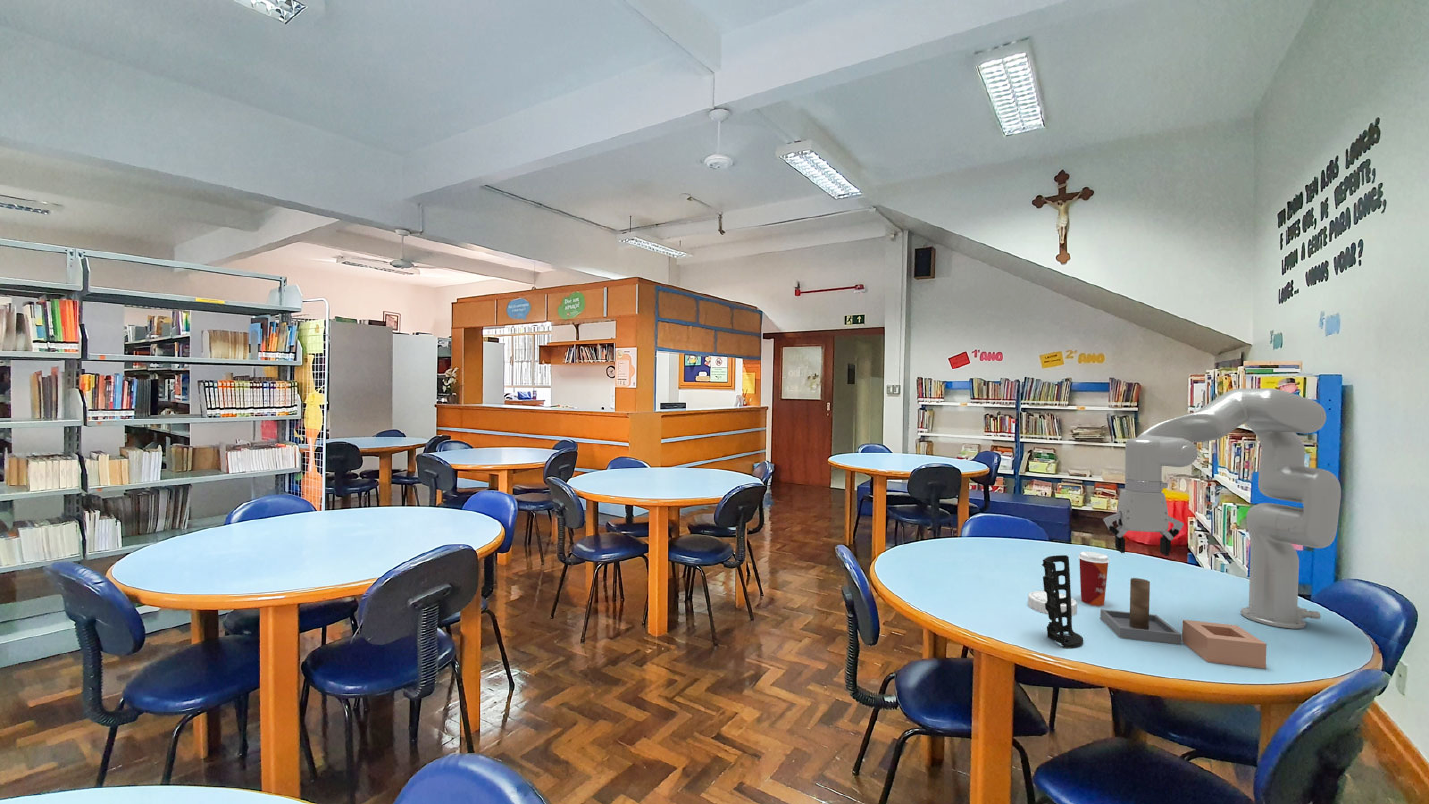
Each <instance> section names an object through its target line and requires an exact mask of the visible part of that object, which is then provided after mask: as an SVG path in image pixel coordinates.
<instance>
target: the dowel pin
mask: <svg viewBox="0 0 1429 804" xmlns="http://www.w3.org/2000/svg"><path fill="white" fill-rule="evenodd" d="M1129 581H1130V583H1129V585H1130V587H1129V588H1130V589H1129V591H1130V592H1129V612H1130V624H1129V625H1130V626H1131V627H1132V628H1136V629H1145V630H1149V614H1150V594H1151V593H1150V591H1151V590H1150V589H1151V587H1150V586H1151V582H1150V581H1149V580H1147V579H1144V578H1138V577H1137V578H1136V577H1132V578H1130V580H1129Z"/></svg>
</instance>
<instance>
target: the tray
mask: <svg viewBox="0 0 1429 804" xmlns="http://www.w3.org/2000/svg"><path fill="white" fill-rule="evenodd" d="M1099 618H1100V620H1101V621H1102V622H1104V624H1105V625H1106V626H1107V627H1108V628H1109V629H1110V630H1111V631H1112V632H1113V633H1114V634H1115V635H1117V637H1119V638H1120V639H1126V640H1136V641H1143V642H1154V643H1161V644H1162V643H1163V644H1170V645H1171V644H1173V645H1179V646H1180V645H1182V643H1183V642H1182V633H1180V632H1179V631H1178V630H1176V629H1175V628H1174V627H1173V626H1171V625H1170V624H1169V623H1168V622H1166V621H1165V620H1163V619H1162V618H1161V617H1160V616H1158V615H1157V614H1151V613H1149V630H1145V629H1136V628H1132V627H1131V626H1130V625H1129V624H1130V611H1123V610H1122V611H1121V610H1110V609H1109V610H1108V609H1100V614H1099Z"/></svg>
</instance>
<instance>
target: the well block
mask: <svg viewBox="0 0 1429 804" xmlns="http://www.w3.org/2000/svg"><path fill="white" fill-rule="evenodd" d="M1181 631H1182V633H1181V634H1182V643H1183V644H1184V645H1185V646H1186V647H1188V648H1189V649H1190V650H1191V651H1193V652H1194V653H1195V654H1196V655H1198V656H1199V657H1201V658H1202V660H1204V661H1205V662H1208V663H1213V664H1221V665H1224V664H1225V665H1232V666H1240V667H1248V668H1256V669H1257V668H1258V669H1264V670H1265V669H1267V668H1266V667H1267V643H1265V642H1264V641H1262V640H1260V639H1259V638H1258V637H1256V636H1254V635H1253V634H1251V633H1249V632H1248V631H1246V630H1245V629H1243V628H1242V627H1240V626H1239V625H1237V624H1229V623H1227V624H1226V623H1218V622H1217V623H1216V622H1209V621H1201V620H1200V621H1198V620H1190V619H1189V620H1188V619H1182V629H1181Z"/></svg>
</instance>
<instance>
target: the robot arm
mask: <svg viewBox="0 0 1429 804" xmlns="http://www.w3.org/2000/svg"><path fill="white" fill-rule="evenodd" d="M1326 421H1327V414H1326V410H1325V408H1324V407H1323V406H1322V405H1321V404H1320V403H1319V402H1317V401H1315V400H1313V399H1310V398H1307V397H1303V396H1301V395H1298V394H1295V393H1291V392H1289V391H1285V390H1282V389H1276V388H1268V387H1267V388H1234V389H1230V390H1228V391H1225V392H1224V393H1223V394H1221V395H1220V396H1218V397H1217V398H1215V399H1213V400H1212V401H1209V403H1207V404H1206V405H1204V406H1202V407H1201V408H1199V409H1197V410H1196V411H1195V412H1192V413H1188V414H1184V415H1181V416H1178V417H1174V418H1172V419H1168V420H1165V421H1162V422H1160V423H1157V424H1155V425H1153V426H1151V427H1149V428H1148V429H1146V430H1145V431H1143V432H1141V433H1140V434H1139V435H1138V436H1137V437H1134V438H1129V439H1127V440H1126V441H1125V445H1124V446H1125V448H1124V449H1125V450H1124V451H1125V455H1124V456H1125V459H1124V461H1125V462H1124V464H1125V465H1124V467H1125V468H1124V470H1125V471H1124V474H1125V475H1124V489H1121V491H1120V493H1119V498H1118V503H1117V510H1116V513H1113V514H1111V515H1109V516H1107V517H1104V518H1103V520H1102V521H1103V522H1104V524H1105V526H1106V527H1107V529H1108V530H1109V531H1110V532H1111V533H1112V534H1113V535H1114V538H1115V539H1114V545H1115V549H1116V551H1118V552H1119V553H1120V554H1125V553H1126V538H1125V537H1124V535H1125V534H1127V532H1129V531H1130V532H1143V533H1145V532H1146V533H1147V532H1148V533H1159V534H1160V535H1162V536H1161V537H1160V539H1159V552H1160V553H1161V554H1162V555H1164V556H1168V557H1169V556H1170V553H1171V552H1172V541H1173V540H1174V538H1175V537H1177V535H1179V534H1180V531H1181V530H1182V528H1183V527H1184V524H1185V523H1184V522H1182V521H1180V520H1178V519H1176V518H1174V517H1171V516H1170V515H1169V509H1168V508H1169V507H1168V504H1167V499H1166V495H1165V493H1164V492H1163V489H1168V487H1169V483H1167V482H1164V481H1163V479H1162V476H1163V475H1162V472H1163V471H1162V469H1163V467H1171V468H1185V467H1188V466H1191V465H1192V464H1193V463H1194V462H1195V461H1196V460H1197V458H1198V456H1199V455H1198V454H1199V453H1198V452H1199V451H1198V448H1197V446H1196V445H1195V443H1197V444H1198V443H1204V442H1205V443H1206V442H1211V441H1216V440H1219V439H1222V438H1224V437H1225V436H1227V435H1228V434H1230V433H1231V432H1233V431H1234V430H1236V429H1237V428H1238V427H1240V426H1241V425H1244V424H1246V426H1247V427H1248V428H1249V429H1251V431H1252V432H1253V433H1254V434H1255V436H1256V437H1257V439H1258V441H1259V443H1260V448H1261V449H1260V450H1261V451H1260V462H1259V467H1258V468H1259V469H1258V480H1257V481H1258V482H1257V483H1258V484H1257V485H1258V486H1257V487H1258V490H1259V492H1260V493H1261V494H1262V495H1264V497H1265V496H1266V497H1268V498H1271V499H1275V500H1280V501H1287V502H1292V503H1293V502H1294V503H1299V504H1300V503H1301V504H1302V506H1303V508H1301V507H1295V506H1291V505H1286V504H1278V503H1272V502H1271V503H1270V502H1262V503H1258V504H1255V505H1254V504H1253V505H1252V506H1251V507H1250V508H1249V509H1248V510H1247V512H1246V518H1245V519H1246V527H1247V530H1248V536H1249V543H1250V545H1249V546H1250V554H1249V555H1250V557H1249V583H1248V585H1249V586H1248V587H1249V589H1248V591H1249V592H1248V606H1247V607H1243V608H1241V609H1240V613H1241V616H1243V617H1245V618H1247V619H1249V620H1250V621H1253V622H1257V623H1259V624H1264V625H1267V626H1271V627H1272V626H1273V627H1278V628H1283V629H1292V630H1293V629H1295V630H1296V629H1297V630H1299V629H1304V628H1305V627H1306V622H1305V620H1304V619H1306V618H1309V619H1316V620H1320V619H1321V613H1320V611H1316V610H1308V609H1306V608H1302V607H1299V605H1298V604H1299V601H1298V600H1299V598H1298V597H1299V571H1300V558H1299V554H1298V553H1297V550H1296V549H1295V546H1294V545H1298V546H1303V547H1308V548H1314V549H1323V548H1326V547H1329V546H1331V544H1332V543H1333V542H1334V541H1335V538H1336V536H1337V532H1338V523H1339V516H1340V509H1341V508H1340V506H1341V498H1342V495H1341V494H1342V487H1341V484H1340V481H1339V479H1338V477H1337V476H1336V475H1335V474H1334V473H1332V472H1331V471H1329V470H1327V469H1323V468H1317V467H1307V466H1305V457H1306V456H1305V455H1306V449H1305V448H1306V447H1305V445H1304V444H1305V443H1304V442H1303V441H1302V439H1301V438H1300V436H1299V435H1298V433H1299V434H1310V433H1315V432H1318V431H1319V430H1321V429H1322V428H1323V427H1324V425H1325V423H1326ZM1115 521H1116V524H1117V527H1115V526H1114V524H1113V522H1115ZM1169 523H1172V524H1173V526H1172V528H1170V529H1169V525H1170V524H1169Z"/></svg>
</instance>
